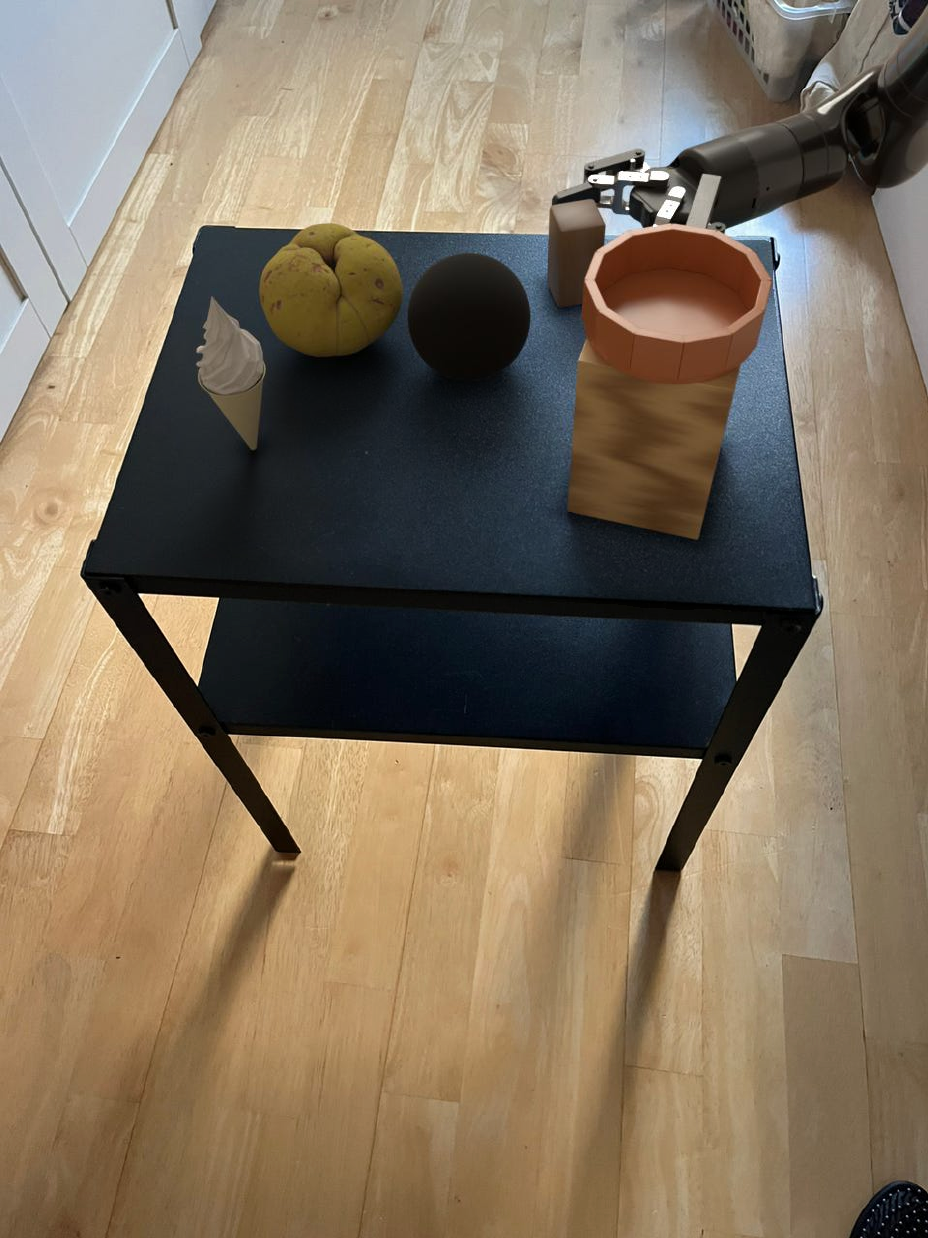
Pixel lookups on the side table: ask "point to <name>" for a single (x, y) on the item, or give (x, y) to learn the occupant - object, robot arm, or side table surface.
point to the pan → (676, 298)
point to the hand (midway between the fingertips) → (578, 234)
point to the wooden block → (572, 248)
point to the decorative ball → (468, 317)
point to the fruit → (330, 291)
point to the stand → (645, 446)
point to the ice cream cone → (232, 372)
